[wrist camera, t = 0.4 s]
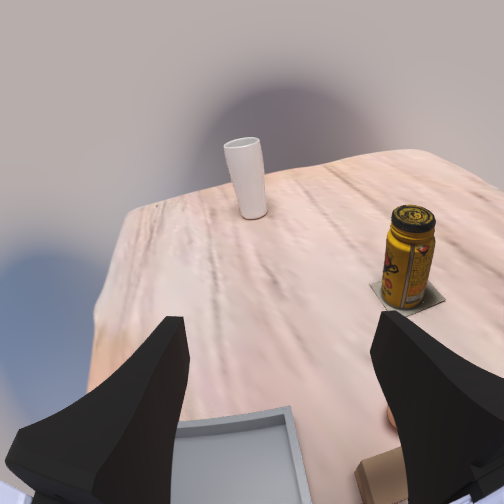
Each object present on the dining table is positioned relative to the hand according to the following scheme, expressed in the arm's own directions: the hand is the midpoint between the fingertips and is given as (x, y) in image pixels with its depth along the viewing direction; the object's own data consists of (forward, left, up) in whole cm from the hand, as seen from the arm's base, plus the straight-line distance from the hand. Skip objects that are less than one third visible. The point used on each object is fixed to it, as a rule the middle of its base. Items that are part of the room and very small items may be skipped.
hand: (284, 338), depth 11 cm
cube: (-4, -7, -20) cm, 21 cm away
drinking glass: (+48, -2, -20) cm, 52 cm away
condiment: (+18, -19, -20) cm, 33 cm away
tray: (-1, +6, -20) cm, 21 cm away
